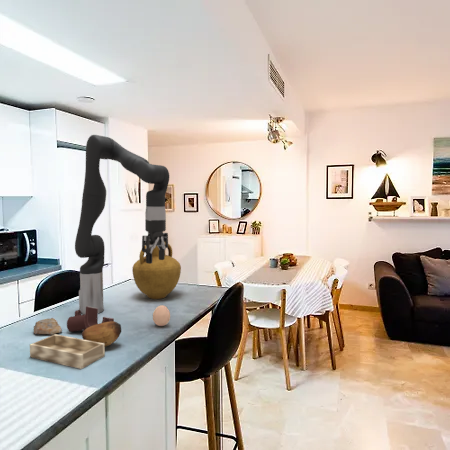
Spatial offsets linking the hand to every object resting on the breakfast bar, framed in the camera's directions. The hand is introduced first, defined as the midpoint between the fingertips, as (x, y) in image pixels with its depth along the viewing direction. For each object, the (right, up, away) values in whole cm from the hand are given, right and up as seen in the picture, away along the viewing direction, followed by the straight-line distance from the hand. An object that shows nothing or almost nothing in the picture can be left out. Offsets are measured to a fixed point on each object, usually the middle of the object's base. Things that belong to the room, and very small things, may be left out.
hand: (155, 261), depth 140 cm
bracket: (-22, -26, -5) cm, 34 cm away
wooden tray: (-22, -27, -26) cm, 43 cm away
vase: (-8, -22, +46) cm, 52 cm away
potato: (-15, -27, -18) cm, 35 cm away
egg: (+2, -25, +2) cm, 25 cm away
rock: (-39, -26, -4) cm, 47 cm away
